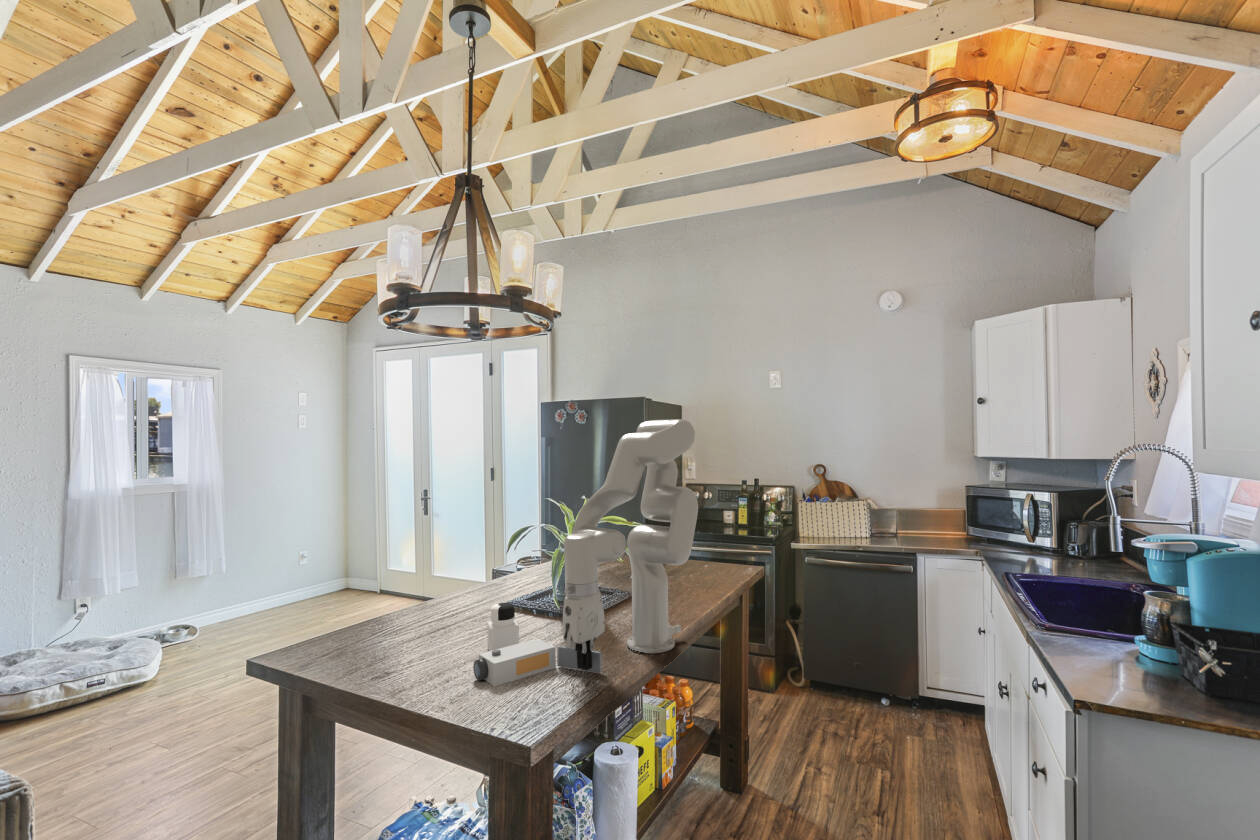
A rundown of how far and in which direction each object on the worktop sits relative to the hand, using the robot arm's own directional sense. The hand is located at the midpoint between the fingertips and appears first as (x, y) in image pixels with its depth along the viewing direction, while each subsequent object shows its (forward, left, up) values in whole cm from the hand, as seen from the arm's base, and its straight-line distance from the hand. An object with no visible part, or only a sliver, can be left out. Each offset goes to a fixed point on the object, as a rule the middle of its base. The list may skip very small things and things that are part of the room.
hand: (584, 667), depth 136 cm
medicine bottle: (+6, -28, -2) cm, 29 cm away
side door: (-1, -4, -2) cm, 5 cm away
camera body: (+10, -13, -2) cm, 17 cm away
